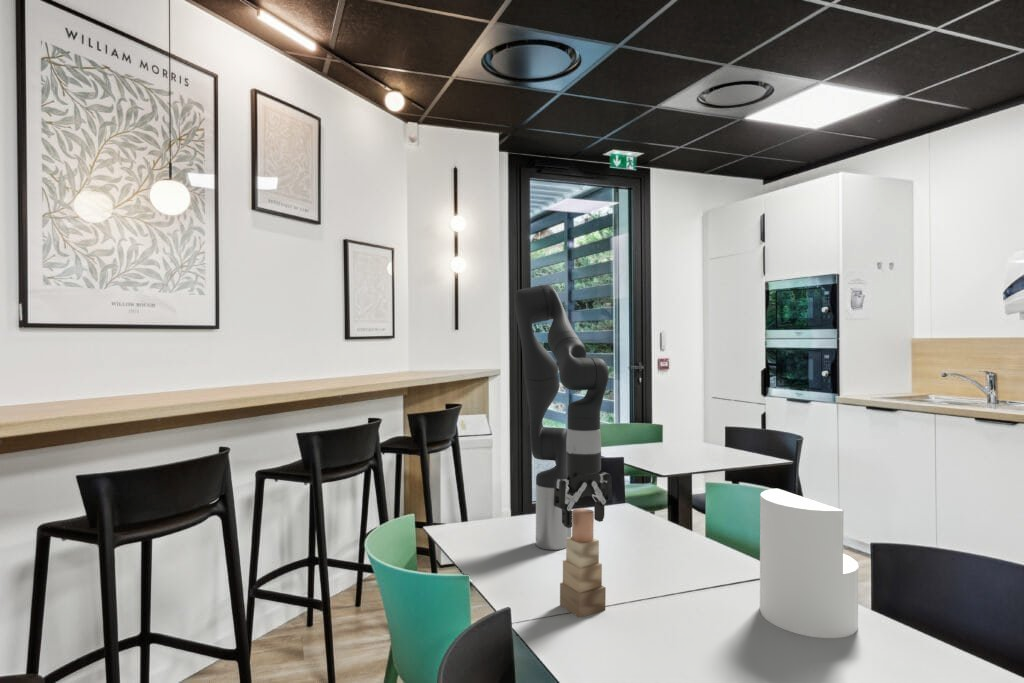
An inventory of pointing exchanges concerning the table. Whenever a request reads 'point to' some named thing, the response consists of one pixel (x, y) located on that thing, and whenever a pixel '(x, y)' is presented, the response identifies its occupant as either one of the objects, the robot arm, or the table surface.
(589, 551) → the tower top
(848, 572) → the cylinder
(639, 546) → the table surface
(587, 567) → the tower mid
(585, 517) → the cylinder
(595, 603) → the tower base
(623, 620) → the table surface
